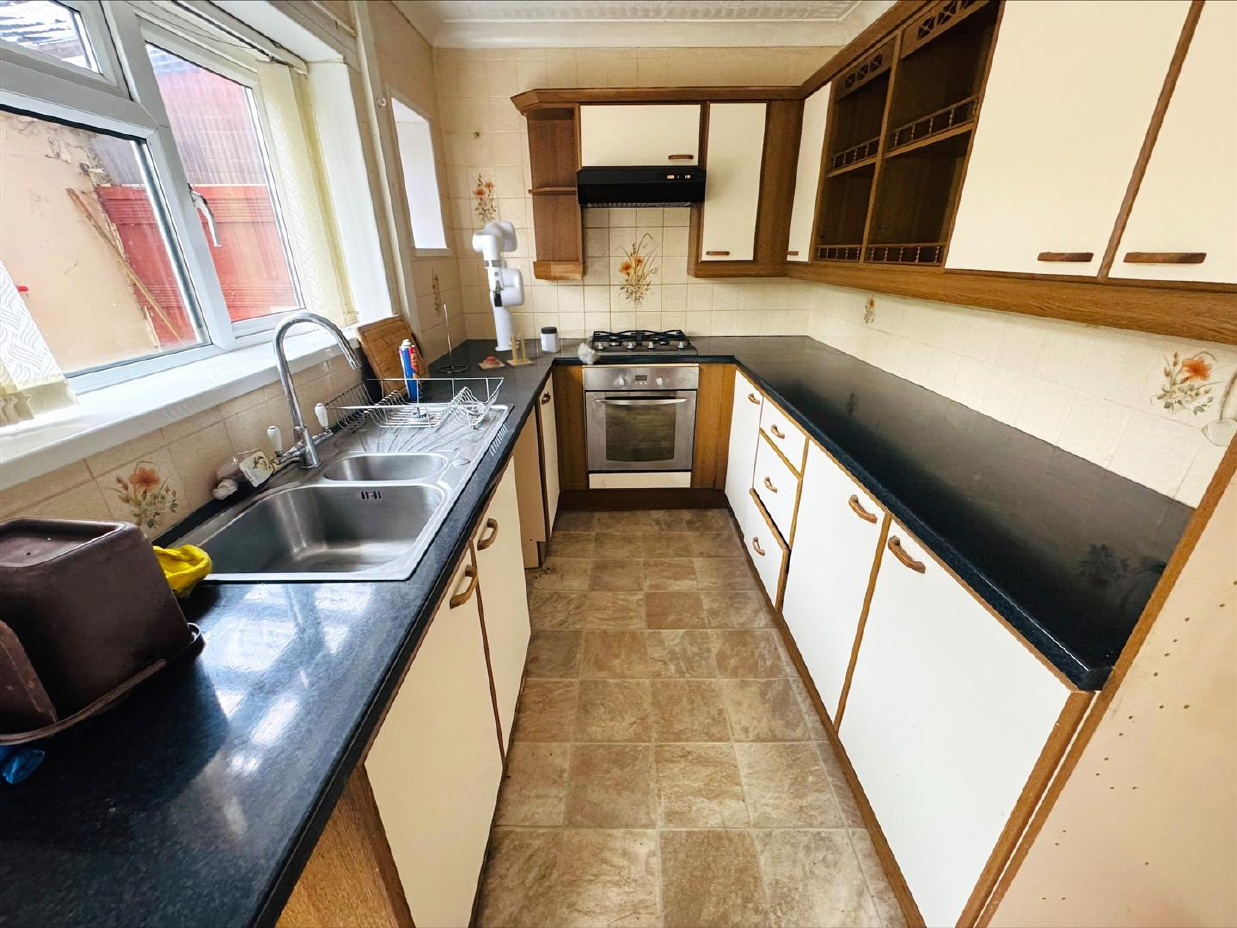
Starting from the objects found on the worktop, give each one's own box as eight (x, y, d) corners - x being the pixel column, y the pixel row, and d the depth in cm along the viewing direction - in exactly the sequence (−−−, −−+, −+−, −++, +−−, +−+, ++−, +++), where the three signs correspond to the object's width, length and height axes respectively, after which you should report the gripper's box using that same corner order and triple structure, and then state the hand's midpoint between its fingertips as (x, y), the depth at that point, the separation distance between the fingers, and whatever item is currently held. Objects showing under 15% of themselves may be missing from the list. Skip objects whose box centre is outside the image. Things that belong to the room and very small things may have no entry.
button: (485, 361, 233) (485, 357, 232) (494, 360, 235) (494, 356, 234) (487, 363, 230) (487, 359, 229) (496, 361, 231) (496, 358, 231)
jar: (548, 349, 268) (545, 326, 264) (561, 350, 266) (560, 326, 261) (539, 353, 261) (537, 329, 256) (554, 353, 258) (552, 329, 253)
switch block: (478, 366, 236) (477, 359, 235) (499, 363, 240) (499, 357, 239) (483, 371, 226) (482, 364, 225) (505, 368, 230) (505, 361, 229)
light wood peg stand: (506, 363, 240) (502, 333, 235) (527, 360, 244) (523, 331, 239) (512, 367, 230) (509, 337, 225) (534, 365, 234) (531, 334, 229)
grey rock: (582, 363, 243) (565, 348, 230) (592, 351, 242) (575, 335, 230) (602, 378, 234) (585, 363, 222) (612, 365, 234) (596, 349, 221)
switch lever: (508, 347, 242) (507, 342, 241) (518, 346, 243) (517, 341, 243) (513, 340, 230) (511, 335, 230) (523, 339, 232) (522, 334, 232)
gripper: (505, 264, 225) (510, 307, 232) (497, 264, 237) (502, 304, 244) (488, 265, 222) (494, 309, 229) (481, 264, 234) (487, 306, 242)
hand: (498, 306), depth 237 cm, fingers closed
